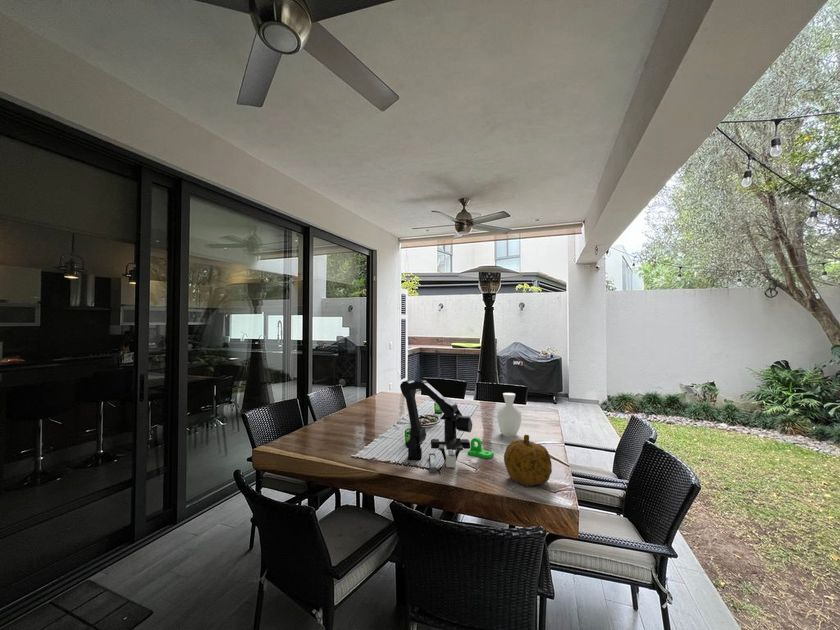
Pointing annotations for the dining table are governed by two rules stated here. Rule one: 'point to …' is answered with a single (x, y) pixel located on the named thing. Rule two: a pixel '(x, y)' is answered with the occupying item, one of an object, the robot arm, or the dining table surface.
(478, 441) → the mechanical part
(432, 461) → the rail
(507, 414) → the vase
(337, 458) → the dining table surface
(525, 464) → the decorative pumpkin
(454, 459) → the block
